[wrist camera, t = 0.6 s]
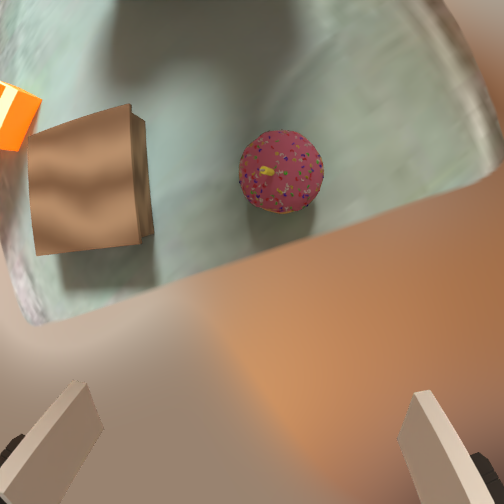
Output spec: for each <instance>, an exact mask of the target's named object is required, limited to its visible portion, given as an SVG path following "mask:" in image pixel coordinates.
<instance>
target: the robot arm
mask: <svg viewBox="0 0 504 504" xmlns="http://www.w3.org/2000/svg"><path fill="white" fill-rule="evenodd" d="M103 430H104V427H103V424H102V422H101V420H100V417H99V415H98V412H97V410H96V407H95V405H94V402H93V399H92V397H91V394H90V391H89V388H88V386H87V383H83V382H79V381H75V380H73V381H72V382H71V383H70V384H69V385H68V386H67V387H66V389H65V390H64V391H63V392H62V393H61V394H60V396H59V397H58V398H57V399H56V400H55V401H54V403H53V404H52V405H51V406H50V407H49V408H48V410H47V411H46V412H45V413H44V414H43V416H42V417H41V418H40V419H39V420H38V422H37V423H36V424H35V425H34V426H33V428H32V429H31V430H30V431H29V433H28V434H27V435H26V436H25V435H23V434H21V435H19V436H17V437H16V438H14V439H12V441H11V442H10V443H9V444H8V445H7V447H6V449H5V450H3V452H2V453H1V455H0V504H60V503H61V501H62V499H63V497H64V496H65V494H66V492H67V490H68V488H69V487H70V485H71V483H72V482H73V480H74V478H75V476H76V475H77V473H78V471H79V470H80V468H81V466H82V465H83V463H84V461H85V459H86V458H87V456H88V454H89V453H90V451H91V449H92V447H93V446H94V444H95V443H96V441H97V439H98V438H99V436H100V434H101V433H102V431H103ZM397 440H398V443H399V445H400V448H401V450H402V453H403V455H404V458H405V461H406V463H407V466H408V469H409V471H410V474H411V477H412V479H413V482H414V484H415V487H416V490H417V493H418V496H419V498H420V501H421V504H504V486H503V484H502V483H501V481H500V479H498V475H497V474H496V472H494V469H493V467H492V465H491V463H490V462H489V460H488V459H487V458H486V457H484V456H483V455H482V454H481V453H479V452H478V453H475V454H472V455H470V456H469V454H468V452H467V450H466V448H465V447H464V445H463V443H462V442H461V440H460V438H459V437H458V435H457V433H456V431H455V430H454V428H453V426H452V425H451V423H450V421H449V420H448V418H447V416H446V415H445V413H444V411H443V410H442V408H441V407H440V405H439V403H438V402H437V400H436V399H435V397H434V395H433V394H432V392H431V391H430V390H427V391H421V392H415V393H414V394H413V397H412V400H411V403H410V406H409V408H408V411H407V414H406V417H405V419H404V422H403V425H402V427H401V430H400V432H399V435H398V437H397Z"/></svg>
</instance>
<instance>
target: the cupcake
mask: <svg viewBox="0 0 504 504" xmlns="http://www.w3.org/2000/svg"><path fill="white" fill-rule="evenodd" d="M323 178H324V168H323V162H322V159H321V157H320V155H319V153H318V152H317V150H316V149H315V147H314V146H313V145H312V144H311V143H310V142H309V141H308V140H307V139H306V138H305V137H304V136H302V135H301V134H299V133H297V132H294V131H289V130H287V131H286V130H283V129H281V130H280V131H268V132H265V133H263V134H262V135H260V136H259V137H258V138H257V139H256V140H255V141H253V142H252V143H251V144H249V145H248V146H247V147H246V149H245V150H244V152H243V155H242V157H241V160H240V164H239V180H240V181H239V183H240V185H241V187H242V190H243V193H244V195H245V198H247V199H248V201H249V202H250V203H251V204H253V205H254V206H256V207H261V208H263V209H264V210H267V211H270V212H274V213H279V214H286V213H290V212H293V211H299V210H301V209H302V208H304V207H305V206H308V204H309V203H310V202H311V201H312V200H313V199H314V198H315V197H316V196H317V194H318V192H319V191H320V187H321V184H322V181H323Z"/></svg>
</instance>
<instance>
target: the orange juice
mask: <svg viewBox="0 0 504 504" xmlns="http://www.w3.org/2000/svg"><path fill="white" fill-rule="evenodd" d="M41 101H42V99H40V98H38V97H36V96H34V95H32V94H30V93H28V92H26V91H25V90H23V89H21V88H19V87H16V86H13V85H10V84H8V83H5V82H2V81H0V149H3V150H11V151H19V148H20V146H21V143H22V141H23V139H24V136H25V134H26V132H27V130H28V128H29V125H30V123H31V121H32V119H33V117H34V115H35V113H36V111H37V109H38V107H39V105H40V103H41Z"/></svg>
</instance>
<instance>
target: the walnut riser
mask: <svg viewBox="0 0 504 504" xmlns="http://www.w3.org/2000/svg"><path fill="white" fill-rule="evenodd" d="M28 179H29V197H30V209H31V219H32V228H33V236H34V243H35V250H36V256H41V255H49V254H58V253H66V252H74V251H83V250H92V249H100V248H109V247H118V246H127V245H137V244H142V239H141V238H142V237H145V236H148V235H151V234H154V226H153V218H152V208H151V198H150V188H149V176H148V163H147V148H146V129H145V121H144V120H143V119H141V118H140V117H138V116H136V115H135V114H133V113H132V105H131V104H125V105H121V106H118V107H114V108H110V109H107V110H103V111H100V112H97V113H93V114H90V115H87V116H84V117H81V118H78V119H75V120H72V121H69V122H66V123H63V124H60V125H58V126H55V127H52V128H50V129H47V130H44V131H42V132H39V133H37V134H34V135H32V136H30V137H28Z"/></svg>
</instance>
